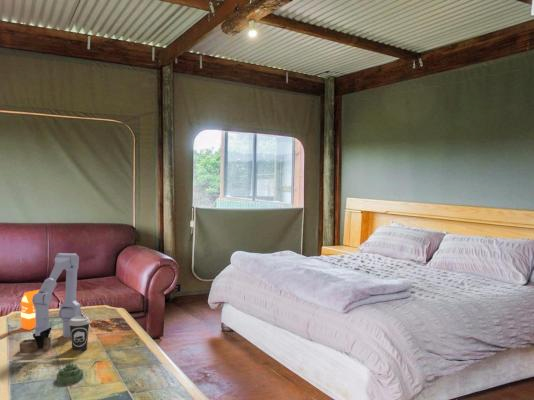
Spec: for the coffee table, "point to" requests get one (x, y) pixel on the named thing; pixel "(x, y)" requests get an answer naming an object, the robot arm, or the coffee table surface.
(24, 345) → the walnut link
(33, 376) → the coffee table surface
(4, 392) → the coffee table surface
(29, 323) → the orange juice
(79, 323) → the coffee cup
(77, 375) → the decorative artifact
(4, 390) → the coffee table surface
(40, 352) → the birch board
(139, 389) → the coffee table surface
